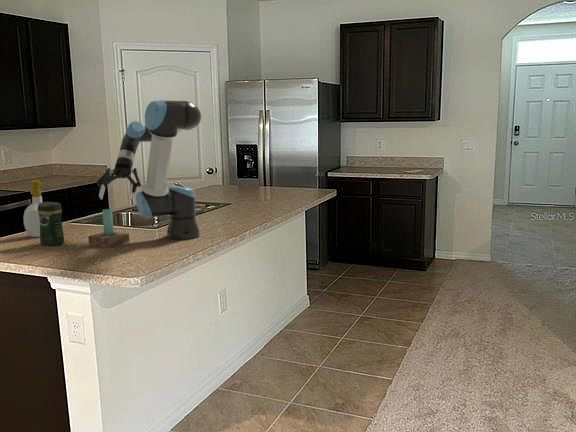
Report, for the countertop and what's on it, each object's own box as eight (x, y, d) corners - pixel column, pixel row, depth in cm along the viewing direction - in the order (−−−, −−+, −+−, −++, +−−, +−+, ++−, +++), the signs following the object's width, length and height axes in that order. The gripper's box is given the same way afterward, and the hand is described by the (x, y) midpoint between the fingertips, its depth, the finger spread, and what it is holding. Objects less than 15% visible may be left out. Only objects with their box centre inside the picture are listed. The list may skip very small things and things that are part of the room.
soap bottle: (32, 239, 255) (27, 182, 251) (20, 237, 260) (15, 181, 256) (60, 234, 267) (56, 179, 262) (48, 232, 272) (44, 178, 267)
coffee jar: (67, 242, 249) (64, 201, 246) (54, 246, 242) (51, 203, 239) (50, 241, 253) (47, 200, 250) (37, 244, 245) (33, 202, 242)
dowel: (115, 240, 248) (114, 209, 245) (109, 242, 244) (107, 210, 242) (108, 240, 249) (106, 209, 247) (102, 241, 246) (100, 210, 243)
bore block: (129, 242, 250) (128, 233, 249) (110, 247, 239) (110, 238, 239) (108, 239, 255) (107, 231, 254) (88, 245, 244) (88, 236, 243)
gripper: (152, 166, 268) (144, 202, 256) (101, 166, 269) (90, 202, 257) (148, 156, 262) (140, 192, 249) (96, 156, 263) (85, 192, 251)
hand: (115, 197), depth 253 cm, fingers open, 13 cm apart
